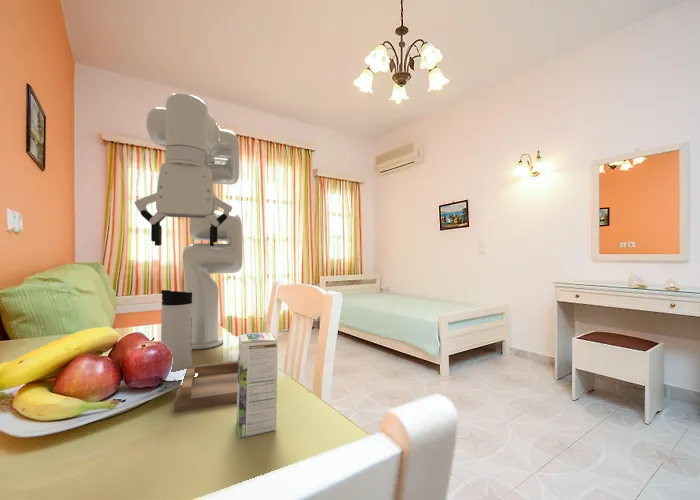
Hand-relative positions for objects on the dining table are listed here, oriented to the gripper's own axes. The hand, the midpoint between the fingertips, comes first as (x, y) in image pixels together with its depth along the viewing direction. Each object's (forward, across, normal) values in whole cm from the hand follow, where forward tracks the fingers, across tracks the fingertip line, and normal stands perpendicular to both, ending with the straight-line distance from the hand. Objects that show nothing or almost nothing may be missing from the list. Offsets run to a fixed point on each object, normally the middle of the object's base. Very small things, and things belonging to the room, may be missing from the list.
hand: (185, 245), depth 65 cm
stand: (+30, -6, +1) cm, 30 cm away
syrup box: (+30, -12, +18) cm, 37 cm away
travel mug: (+30, +3, -11) cm, 32 cm away
